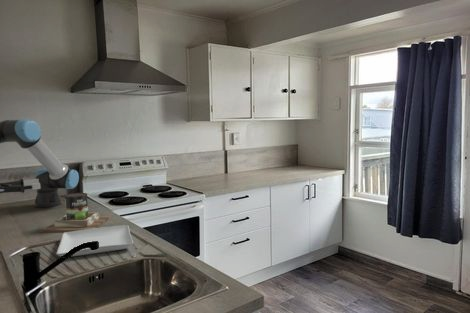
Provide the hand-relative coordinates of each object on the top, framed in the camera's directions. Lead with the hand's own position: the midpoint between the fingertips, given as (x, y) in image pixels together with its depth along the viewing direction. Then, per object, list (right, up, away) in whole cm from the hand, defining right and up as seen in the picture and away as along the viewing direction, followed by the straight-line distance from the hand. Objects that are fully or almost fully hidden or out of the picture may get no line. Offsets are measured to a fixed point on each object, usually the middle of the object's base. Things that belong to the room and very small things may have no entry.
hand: (39, 183), depth 173 cm
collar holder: (+16, -21, +5) cm, 27 cm away
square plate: (+37, -24, -25) cm, 51 cm away
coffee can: (+16, -20, +5) cm, 26 cm away
